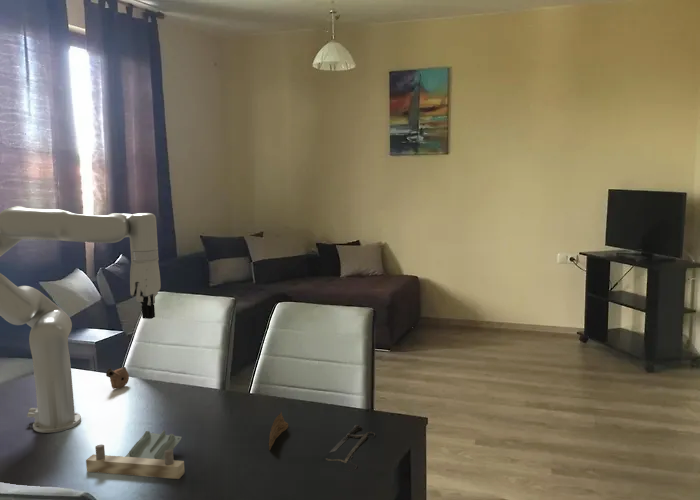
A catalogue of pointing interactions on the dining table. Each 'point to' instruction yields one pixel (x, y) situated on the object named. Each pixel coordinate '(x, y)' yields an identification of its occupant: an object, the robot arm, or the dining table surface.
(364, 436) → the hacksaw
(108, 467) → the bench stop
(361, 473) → the dining table surface
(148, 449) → the metal bracket
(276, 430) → the wood plank
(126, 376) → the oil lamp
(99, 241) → the robot arm
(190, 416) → the dining table surface
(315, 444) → the dining table surface
